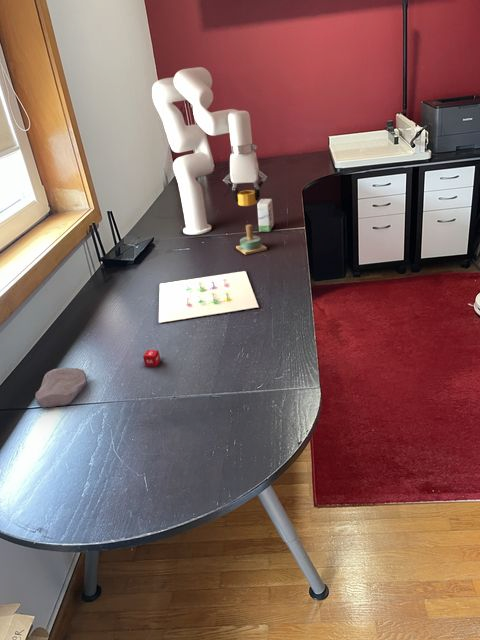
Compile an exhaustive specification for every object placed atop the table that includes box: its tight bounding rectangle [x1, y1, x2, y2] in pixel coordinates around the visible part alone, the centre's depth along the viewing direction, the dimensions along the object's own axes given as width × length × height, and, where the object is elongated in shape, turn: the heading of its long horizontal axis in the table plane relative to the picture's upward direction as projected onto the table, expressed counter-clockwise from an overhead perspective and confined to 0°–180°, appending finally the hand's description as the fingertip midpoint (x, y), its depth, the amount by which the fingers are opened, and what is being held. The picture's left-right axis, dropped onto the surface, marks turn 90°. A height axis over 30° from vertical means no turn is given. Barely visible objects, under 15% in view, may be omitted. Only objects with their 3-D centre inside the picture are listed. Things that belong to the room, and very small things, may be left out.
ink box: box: [256, 198, 275, 233], centre depth 214 cm, size 9×5×12 cm, turn 168°
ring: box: [237, 189, 258, 207], centre depth 188 cm, size 7×7×4 cm
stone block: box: [35, 367, 87, 409], centre depth 121 cm, size 12×5×10 cm
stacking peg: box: [235, 224, 268, 256], centre depth 195 cm, size 9×9×9 cm
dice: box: [142, 349, 161, 367], centre depth 129 cm, size 3×3×3 cm
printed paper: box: [158, 270, 259, 324], centre depth 163 cm, size 30×30×2 cm
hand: (247, 199), depth 188 cm, fingers closed on ring, 6 cm apart
